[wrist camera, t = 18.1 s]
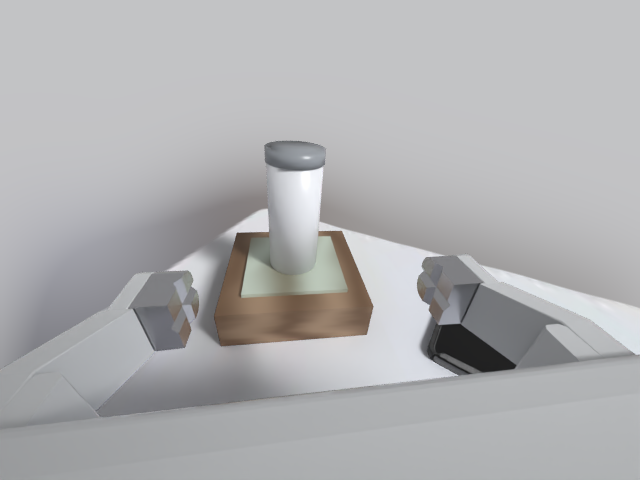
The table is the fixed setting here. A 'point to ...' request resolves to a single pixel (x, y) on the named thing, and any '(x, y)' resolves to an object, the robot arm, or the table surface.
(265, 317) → the walnut base
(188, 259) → the table surface
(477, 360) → the phone
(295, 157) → the canister
